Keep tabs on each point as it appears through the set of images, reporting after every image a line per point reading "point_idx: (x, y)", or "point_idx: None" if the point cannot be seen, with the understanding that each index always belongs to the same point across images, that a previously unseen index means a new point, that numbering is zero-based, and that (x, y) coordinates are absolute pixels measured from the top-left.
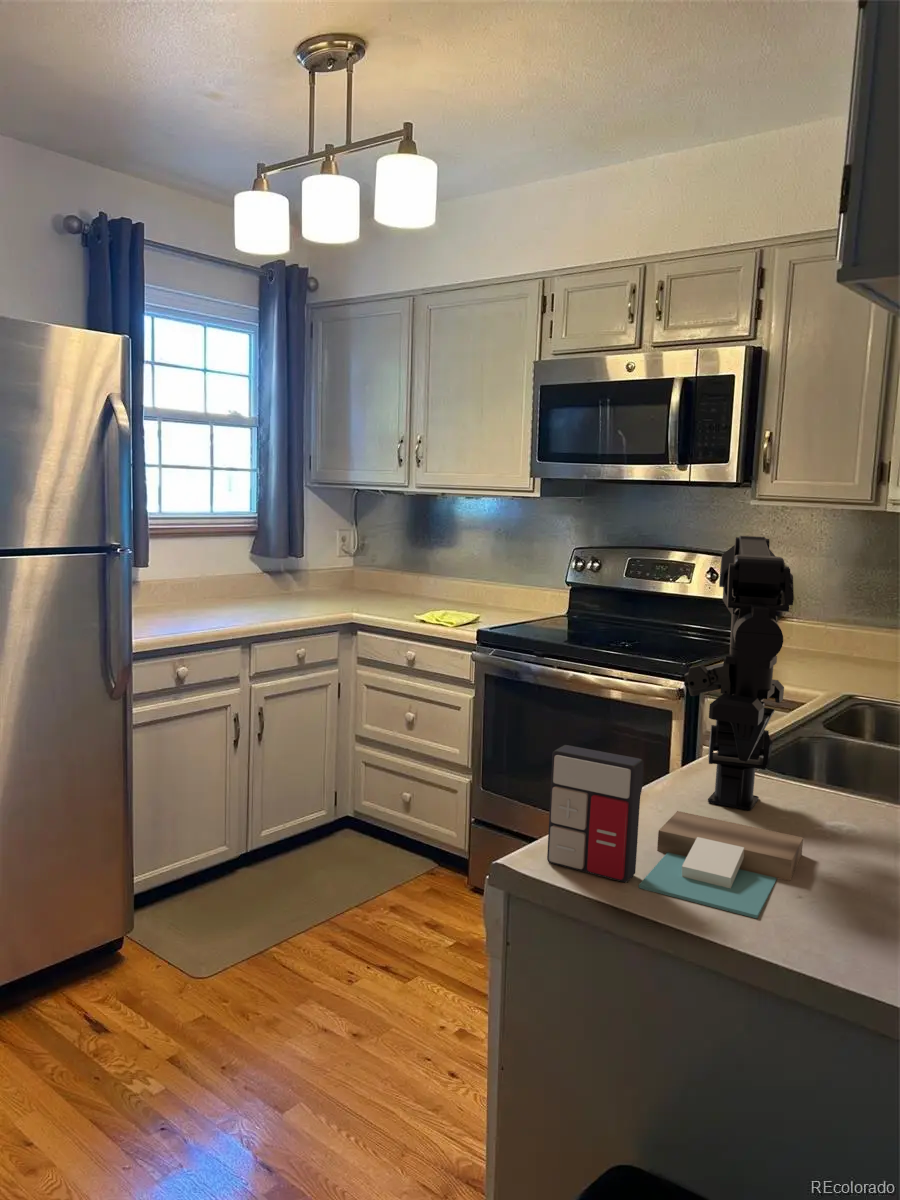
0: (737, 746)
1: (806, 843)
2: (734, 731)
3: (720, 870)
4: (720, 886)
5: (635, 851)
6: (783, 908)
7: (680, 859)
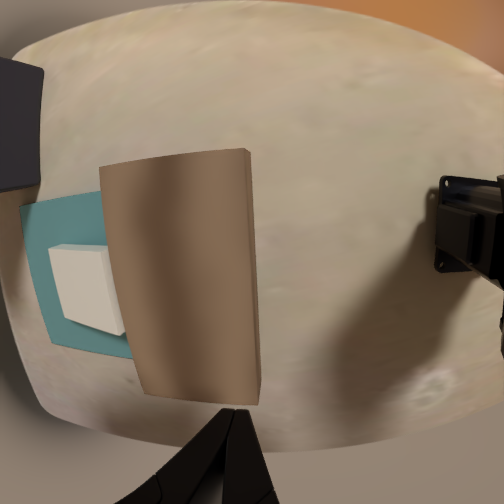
0: (184, 448)
1: (340, 374)
2: (123, 499)
3: (66, 303)
4: None
5: (10, 189)
6: (91, 365)
7: None
